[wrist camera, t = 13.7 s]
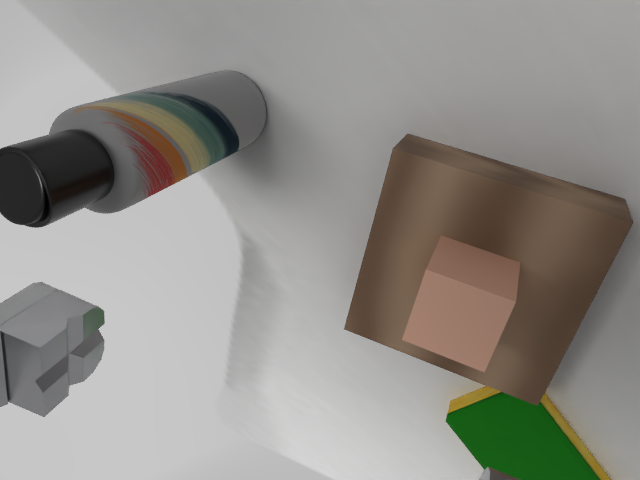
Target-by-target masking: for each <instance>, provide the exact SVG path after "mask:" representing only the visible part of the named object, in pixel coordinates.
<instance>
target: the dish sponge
mask: <svg viewBox="0 0 640 480" xmlns="http://www.w3.org/2000/svg"><path fill="white" fill-rule="evenodd" d="M446 422H447V423H448V424H449V426H450V427H451V428H452V429H453V431H454V432H455V433H456V434H457V436H458V437H459V438H460V439H461V441H462V442H463V443H464V444H465V446H466V447H467V448H468V449H469V451H470V452H471V453H472V455H473V456H474V457H475V458H476V460H477V461H478V462H479V463H480V465H481V466H482V467H483V468H484V470H485V469H486V468H487V467H490V468H493V469H495V470H498V471H500V472H503V473H505V474H508V475H510V476H513V477H515V478H518V479H520V480H611V479H610V478H609V477H608V475H607V474H606V473H605V471H604V470H603V469H602V468H601V466H600V465H599V464H598V462H597V461H596V460H595V458H594V457H593V456H592V455H591V453H590V452H589V451H588V449H587V448H586V447H585V445H584V444H583V443H582V441H581V440H580V439H579V438H578V436H577V435H576V434H575V432H574V431H573V430H572V428H571V427H570V426H569V425H568V423H567V422H566V421H565V419H564V418H563V417H562V415H561V414H560V413H559V411H558V410H557V409H556V408H555V406H554V405H553V404H552V402H551V401H550V400H549V398H548V397H547V396H546V395H545V393H544V395H543V397H542V399H541V400H540V402H539V404H538V406H536V405H534V404H531V403H529V402H526V401H524V400H521V399H519V398H516V397H514V396H511V395H509V394H506V393H504V392H501V391H499V390H496V389H494V388H491V387H488V386H486V387H483V388H481V389H478V390H476V391H474V392H471V393H469V394H466V395H464V396H462V397H459V398H457V399H454V400H452V401H451V402H450V406H449V410H448V414H447V418H446Z"/></svg>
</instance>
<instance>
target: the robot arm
mask: <svg viewBox="0 0 640 480" xmlns="http://www.w3.org/2000/svg"><path fill="white" fill-rule="evenodd" d="M103 324H104V311H103V310H102V309H101V308H99V307H98V306H95V305H93V304H91V303H89V302H86V301H84V300H82V299H80V298H77V297H75V296H73V295H70V294H68V293H66V292H64V291H61V290H58V289H56V288H54V287H51V286H49V285H47V284H45V283H43V282H38V283H33V284H31V285H29V286H28V287H26V288H25V289H23V290H21V291H20V292H18V293H17V294H15V295H13V296H12V297H10V298H9V299H7V300H5V301H3V302H2V303H0V407H2V406H4V405H7V404H8V402H10V403H13V404H15V405H17V406H20V407H22V408H25V409H27V410H29V411H31V412H34V413H36V414H38V415H41V416H43V417H45V416H46V415H47V414H48V413H49V412H50V411H51V410H53V409H54V408H55V407H56V406H57V405H58V404H59V403H60V402H61V401H63V400H64V399H65V398H66V397H67V396H68V393H69V386H70V385H73V384H76V383H80V382H83V381H84V380H85V379H87V378H88V377H89V376H90V375H91V374H92V373H93V372H94V370H95V369H96V367H97V365H98V363H99V362H100V360H101V357H102V354H103V351H104V339H103V337H102V335H101V333H100V332H99V330H98V329H99V328H100V327H101V326H102V325H103ZM479 480H520V479H518V478H515V477H513V476H510V475H508V474H505V473H503V472H500V471H498V470H495V469H493V468H490V467H487V468H486V469H485V470H484V472H483V473H482V475H481V477H480V479H479Z"/></svg>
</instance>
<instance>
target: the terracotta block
mask: <svg viewBox="0 0 640 480" xmlns="http://www.w3.org/2000/svg"><path fill="white" fill-rule="evenodd" d="M519 271H520V262H517V261H514V260H511V259H508V258H505V257H503V256H500V255H497V254H494V253H491V252H488V251H485V250H482V249H479V248H476V247H473V246H471V245H468V244H465V243H462V242H459V241H456V240H453V239H450V238H447V237H444V236H442V235H441V237H440V239H439V241H438V244H437V246H436V248H435V250H434V253H433V255H432V257H431V259H430V261H429V264H428V266H427V268H426V271H425V274H424V277H423V279H422V282H421V285H420V288H419V291H418V294H417V297H416V300H415V303H414V306H413V309H412V312H411V315H410V317H409V320H408V323H407V326H406V329H405V332H404V335H403V338H402V340H404V341H406V342H409V343H411V344H414V345H416V346H419V347H421V348H424V349H426V350H429V351H431V352H434V353H437V354H439V355H442V356H444V357H447V358H449V359H452V360H454V361H457V362H459V363H462V364H464V365H467V366H469V367H472V368H474V369H477V370H479V371H482V372H485V370H486V368H487V366H488V363H489V361H490V359H491V357H492V355H493V352H494V350H495V348H496V346H497V343H498V341H499V339H500V337H501V334H502V332H503V330H504V328H505V325H506V323H507V321H508V319H509V317H510V314H511V312H512V310H513V308H514V305H515V303H516V298H517V289H518V280H519Z"/></svg>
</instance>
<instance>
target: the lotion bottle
mask: <svg viewBox="0 0 640 480" xmlns="http://www.w3.org/2000/svg"><path fill="white" fill-rule="evenodd" d="M265 121H266V106H265V102H264V99H263V96H262V94H261V92H260V90H259V89H258V87H257V86H256V85H255V84H254V83H253V82H252V81H251V80H250V79H249V78H248V77H246V76H245V75H243V74H240V73H238V72H234V71H219V72H214V73H210V74H205V75H201V76H197V77H193V78H189V79H185V80H181V81H176V82H172V83H168V84H164V85H160V86H156V87H152V88H148V89H144V90H140V91H135V92H131V93H127V94H123V95H119V96H115V97H111V98H107V99H103V100H99V101H95V102H91V103H87V104H83V105H80V106H76V107H73V108H70V109H68V110H66V111H64V112H63V113H62V114H60V115H59V116H58V117H57V118H56V119H55V121H54V122H53V124H52V127H51V129H50V132H49V135H46V136H43V137H39V138H36V139H32V140H28V141H24V142H21V143H17V144H14V145H10V146H7V147H4V148H1V149H0V212H1V214H2V215H3V216H4V217H5V218H6V219H8V220H9V221H11V222H13V223H15V224H20V225H26V226H29V227H43V226H46V225H48V224H50V223H53V222H55V221H57V220H59V219H61V218H63V217H65V216H67V215H69V214H72V213H74V212H76V211H78V210H80V209H82V208H84V207H85V208H87V209H89V210H91V211H94V212H98V213H114V212H118V211H121V210H123V209H125V208H127V207H129V206H131V205H134V204H136V203H138V202H140V201H142V200H143V199H145V198H147V197H149V196H151V195H153V194H155V193H157V192H159V191H161V190H163V189H165V188H167V187H169V186H171V185H173V184H175V183H177V182H179V181H180V180H182V179H184V178H186V177H188V176H190V175H192V174H194V173H196V172H198V171H200V170H202V169H204V168H206V167H208V166H210V165H212V164H214V163H216V162H218V161H220V160H221V159H223V158H225V157H227V156H229V155H231V154H233V153H235V152H237V151H239V150H241V149H243V148H244V147H246V146H248V145H250V144H251V143H252V142H254V141H255V140H256V139H257V138H258V137H259V135H260V134H261V132H262V130H263V128H264V125H265Z"/></svg>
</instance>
